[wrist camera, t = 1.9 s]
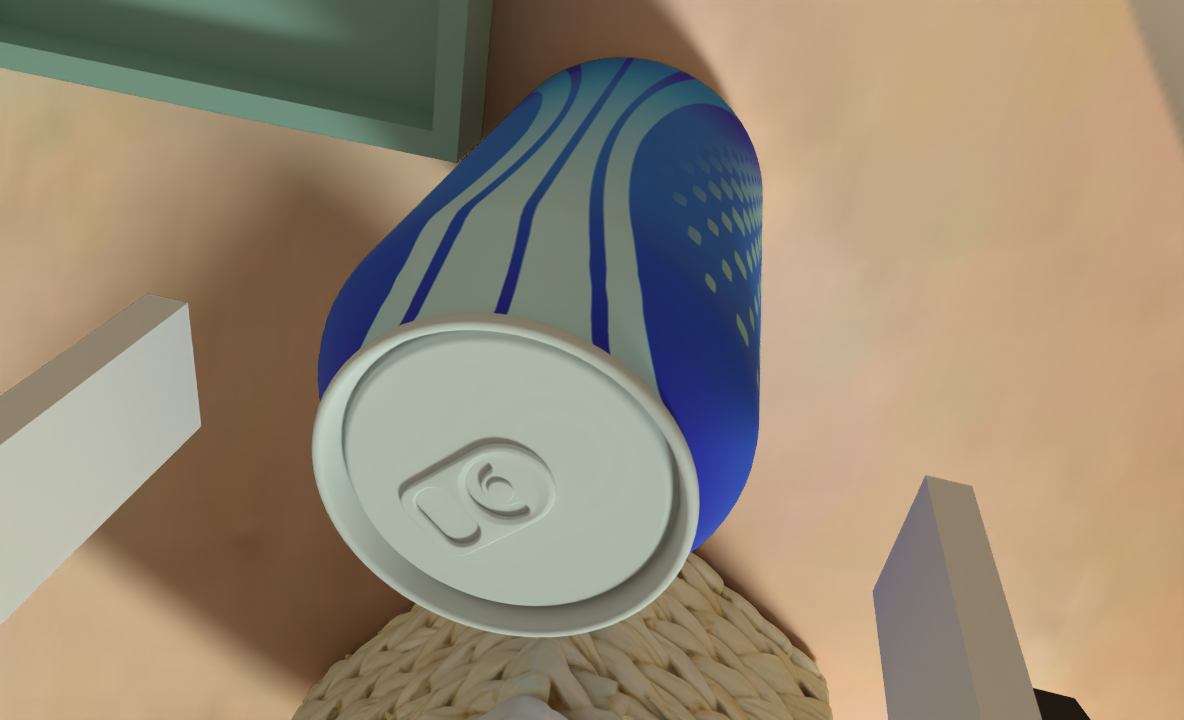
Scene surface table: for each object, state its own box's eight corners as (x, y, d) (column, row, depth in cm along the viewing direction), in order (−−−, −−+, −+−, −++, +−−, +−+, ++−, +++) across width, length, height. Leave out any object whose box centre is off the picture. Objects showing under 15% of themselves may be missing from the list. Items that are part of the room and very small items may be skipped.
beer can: (502, 37, 26) (215, 232, 13) (781, 59, 25) (797, 298, 12) (504, 287, 31) (293, 633, 17) (744, 315, 30) (723, 708, 16)
